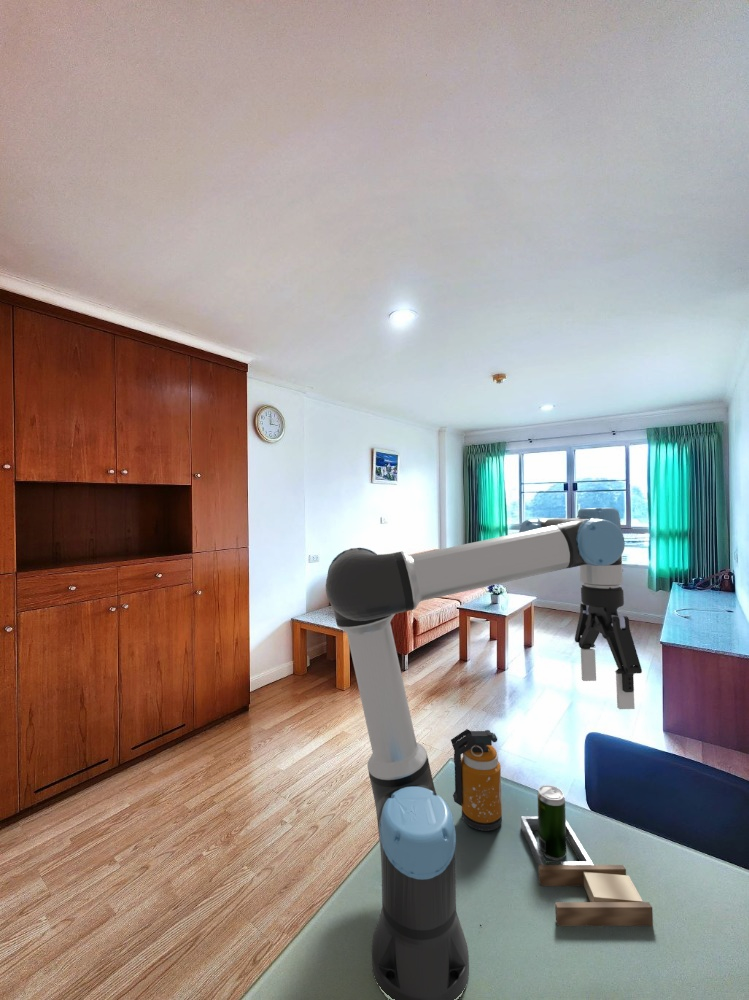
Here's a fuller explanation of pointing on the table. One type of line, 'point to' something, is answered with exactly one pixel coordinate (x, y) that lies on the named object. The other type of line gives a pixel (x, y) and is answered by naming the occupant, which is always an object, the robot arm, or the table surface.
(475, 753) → the canister
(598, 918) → the beam
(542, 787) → the beer can
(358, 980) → the table surface
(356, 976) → the table surface
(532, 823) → the frame
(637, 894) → the block
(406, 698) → the robot arm
